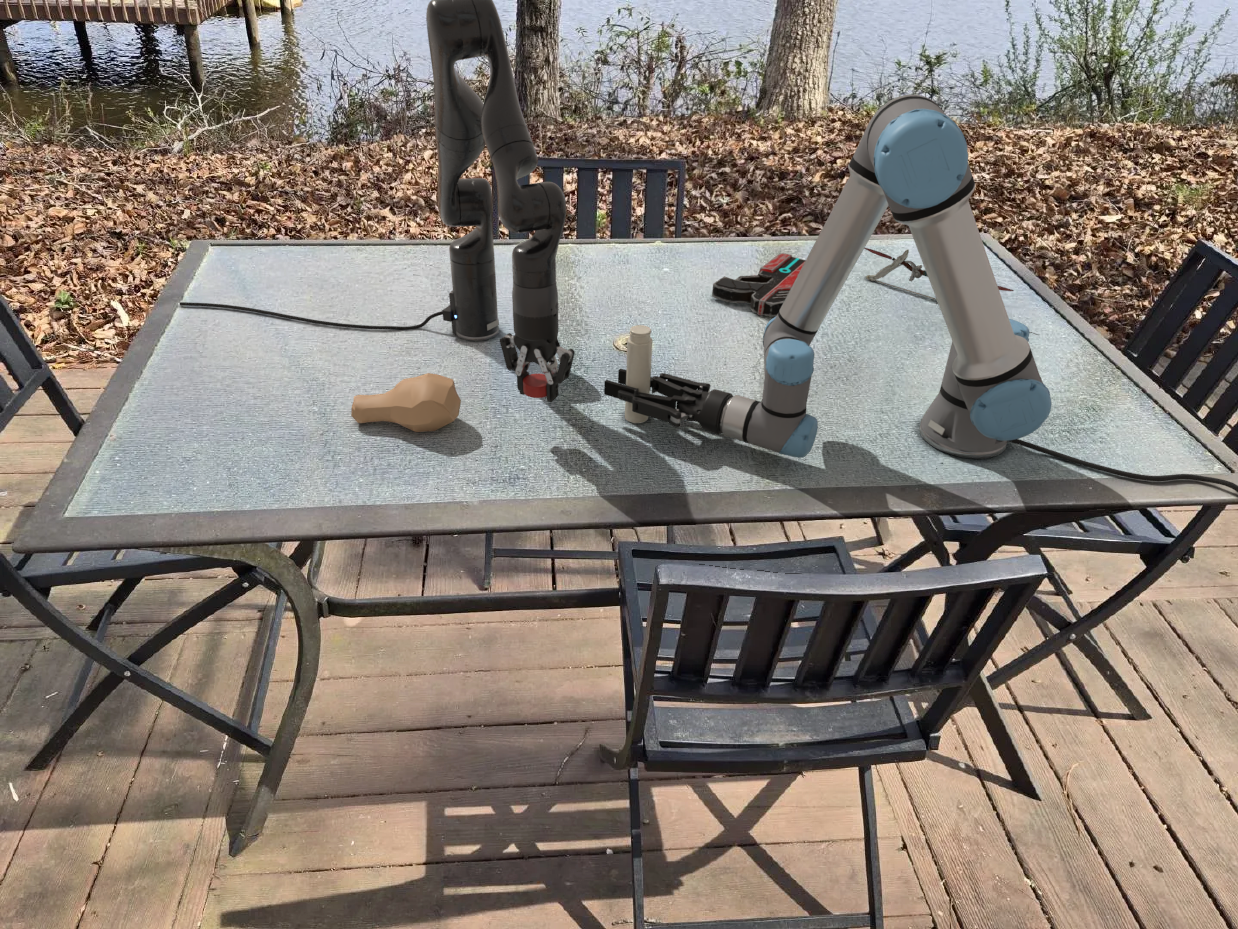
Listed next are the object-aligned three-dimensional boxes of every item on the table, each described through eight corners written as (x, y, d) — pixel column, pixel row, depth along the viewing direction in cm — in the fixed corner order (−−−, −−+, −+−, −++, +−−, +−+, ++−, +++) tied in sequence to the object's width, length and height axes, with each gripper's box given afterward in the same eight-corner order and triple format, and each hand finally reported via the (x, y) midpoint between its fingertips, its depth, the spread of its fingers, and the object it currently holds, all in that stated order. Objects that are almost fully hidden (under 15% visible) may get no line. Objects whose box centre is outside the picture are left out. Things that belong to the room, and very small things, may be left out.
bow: (1006, 319, 205) (1018, 279, 199) (1003, 322, 204) (1015, 281, 198) (860, 274, 226) (867, 237, 221) (856, 276, 225) (863, 238, 220)
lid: (545, 382, 157) (544, 371, 155) (556, 394, 153) (556, 383, 152) (518, 388, 155) (518, 376, 153) (530, 400, 151) (529, 389, 150)
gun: (708, 284, 207) (784, 305, 199) (760, 245, 229) (831, 262, 221) (706, 302, 209) (781, 323, 201) (758, 261, 231) (828, 278, 223)
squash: (461, 438, 156) (449, 399, 150) (353, 447, 158) (336, 409, 152) (469, 400, 164) (458, 361, 158) (366, 408, 166) (350, 370, 160)
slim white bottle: (633, 425, 161) (637, 336, 151) (620, 415, 165) (622, 327, 155) (653, 419, 164) (658, 331, 154) (639, 409, 167) (643, 322, 157)
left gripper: (486, 305, 145) (492, 395, 154) (561, 323, 140) (562, 416, 149) (511, 290, 151) (515, 378, 160) (584, 307, 145) (584, 397, 155)
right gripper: (705, 456, 149) (587, 419, 158) (744, 411, 162) (634, 380, 171) (708, 418, 145) (588, 382, 154) (749, 375, 158) (635, 345, 167)
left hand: (538, 396), depth 154 cm, fingers closed on lid, 5 cm apart
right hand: (612, 381), depth 163 cm, fingers closed on slim white bottle, 4 cm apart
